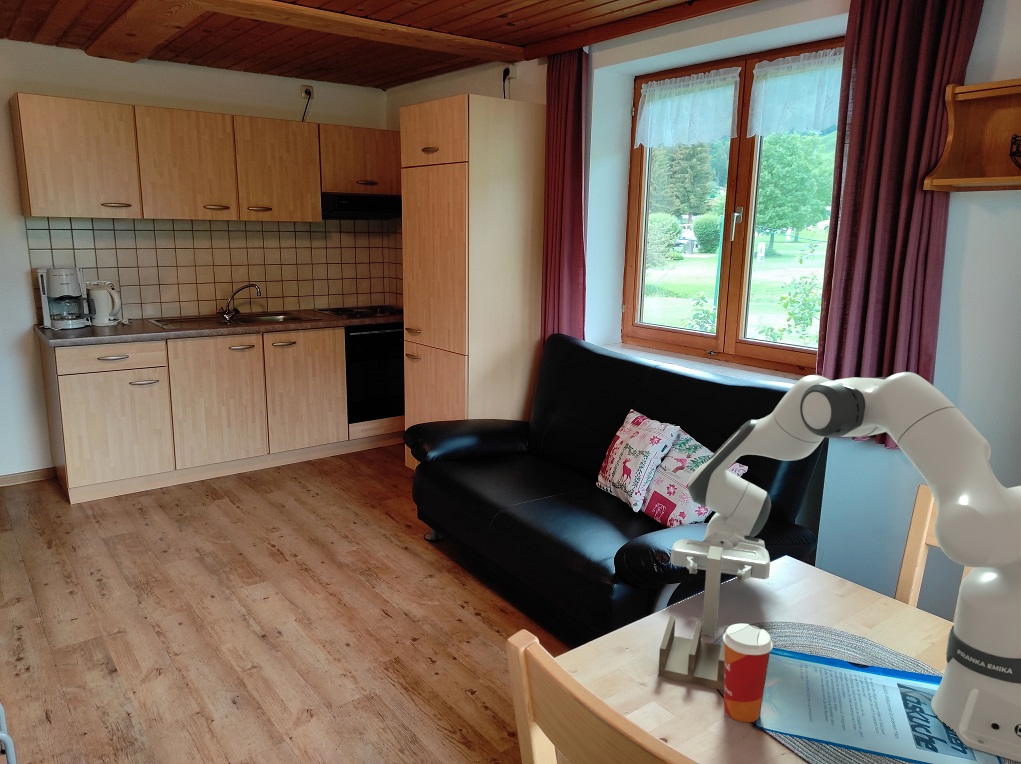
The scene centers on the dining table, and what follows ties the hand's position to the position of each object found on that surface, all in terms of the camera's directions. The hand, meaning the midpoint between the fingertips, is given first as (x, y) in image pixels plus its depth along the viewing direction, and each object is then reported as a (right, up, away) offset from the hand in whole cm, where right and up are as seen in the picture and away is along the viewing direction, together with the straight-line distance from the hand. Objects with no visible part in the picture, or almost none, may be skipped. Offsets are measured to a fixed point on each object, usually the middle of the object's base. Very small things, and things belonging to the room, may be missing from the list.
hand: (716, 574), depth 153 cm
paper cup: (-4, -15, -30) cm, 33 cm away
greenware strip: (-2, -10, -4) cm, 11 cm away
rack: (-6, -12, -17) cm, 22 cm away
